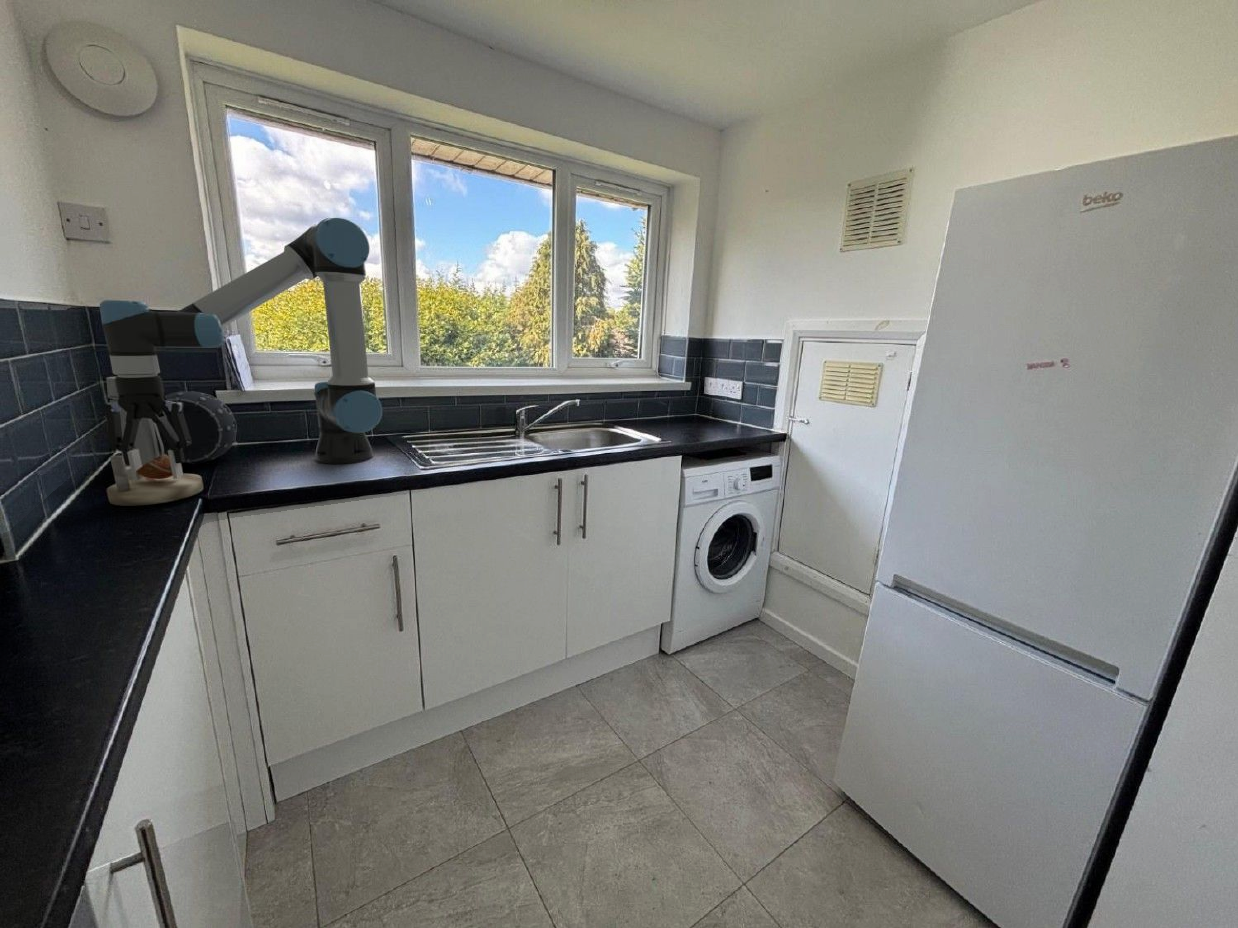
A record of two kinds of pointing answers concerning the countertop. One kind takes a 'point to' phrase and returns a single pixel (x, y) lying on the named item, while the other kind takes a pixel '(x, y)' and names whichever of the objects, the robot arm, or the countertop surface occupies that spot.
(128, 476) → the grey rectangular block
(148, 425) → the water bottle
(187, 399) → the grey dotted bowl
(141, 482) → the beige round piece
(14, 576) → the countertop surface
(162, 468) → the fruit slice
